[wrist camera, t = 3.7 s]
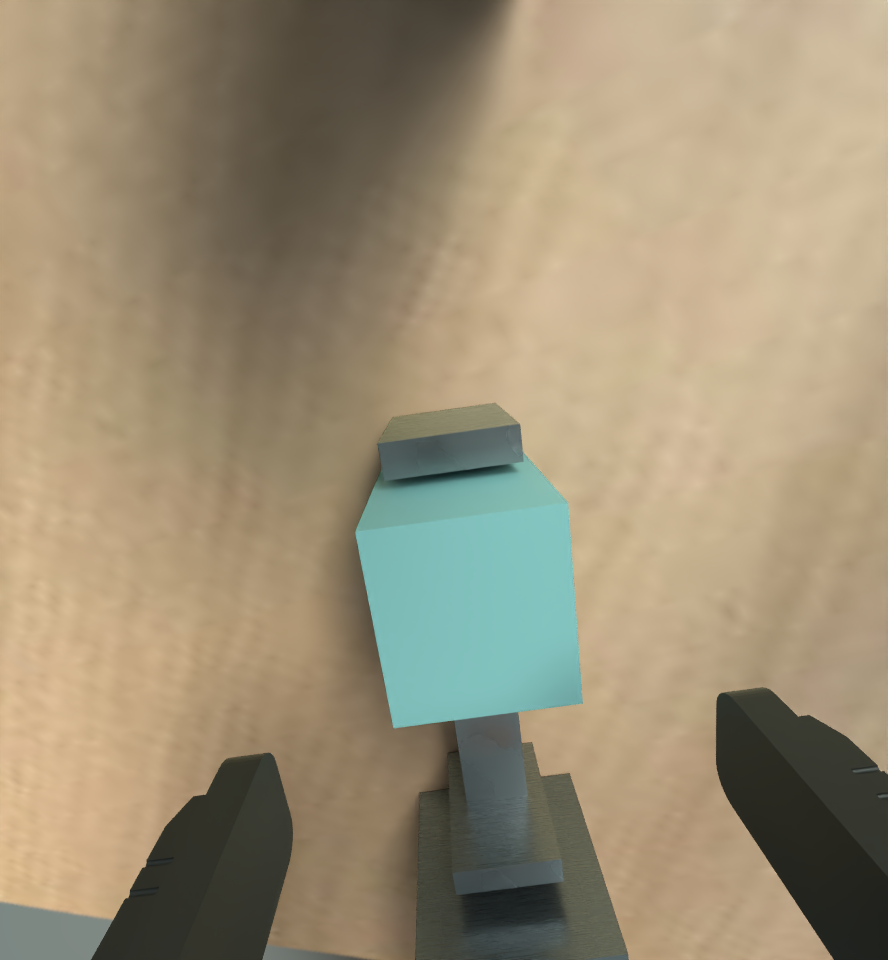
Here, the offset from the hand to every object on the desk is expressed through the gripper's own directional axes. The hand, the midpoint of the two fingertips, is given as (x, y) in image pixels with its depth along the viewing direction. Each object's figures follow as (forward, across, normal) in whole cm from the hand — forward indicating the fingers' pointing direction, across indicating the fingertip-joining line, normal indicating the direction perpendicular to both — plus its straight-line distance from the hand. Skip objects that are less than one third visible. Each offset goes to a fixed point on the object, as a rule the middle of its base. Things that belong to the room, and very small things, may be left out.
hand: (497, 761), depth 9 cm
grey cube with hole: (+14, 0, +19) cm, 24 cm away
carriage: (+12, 0, 0) cm, 12 cm away
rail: (+14, 0, +5) cm, 14 cm away
